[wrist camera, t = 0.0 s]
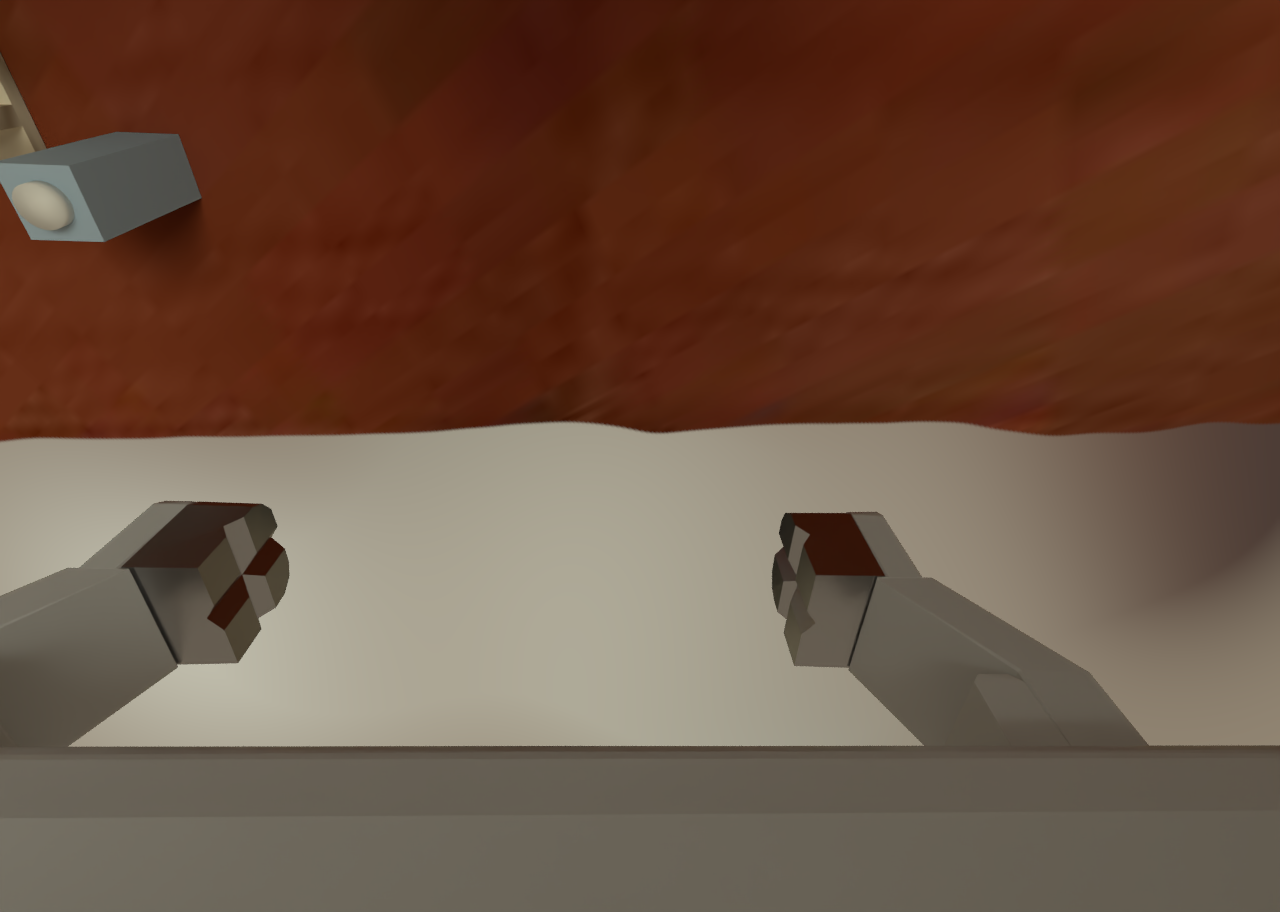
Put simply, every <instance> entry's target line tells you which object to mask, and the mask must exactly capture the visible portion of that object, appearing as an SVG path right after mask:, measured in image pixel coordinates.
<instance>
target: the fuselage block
mask: <svg viewBox="0 0 1280 912" xmlns="http://www.w3.org/2000/svg"><path fill="white" fill-rule="evenodd" d="M0 182H1V184H2V186H3V188H4V190H5V191H6V193H7V195H8V197H9V199H10V201H11V203H12V204H13V206H14V208H15V210H16V212H17V214H18V216H19V217H20V219H21V221H22V223H23V225H24V227H25V229H26V230H27V232H28V234H29V236H30V238H31V240H61V241H92V242H105V241H107V240H110V239H112V238H114V237H116V236H119V235H121V234H123V233H125V232H127V231H130V230H132V229H134V228H136V227H138V226H141V225H143V224H145V223H147V222H150V221H152V220H154V219H156V218H158V217H161V216H163V215H165V214H167V213H169V212H172V211H174V210H176V209H178V208H181V207H183V206H185V205H187V204H189V203H192V202H194V201H196V200H198V199H200V198H201V195H200V192H199V190H198V187H197V184H196V181H195V178H194V176H193V173H192V170H191V167H190V165H189V162H188V159H187V156H186V154H185V151H184V148H183V145H182V143H181V140H180V137H179V134H155V133H130V132H114V133H110V134H106V135H102V136H98V137H94V138H89V139H85V140H81V141H77V142H73V143H69V144H65V145H61V146H57V147H53V148H49V149H45V150H40V151H36V152H32V153H28V154H24V155H20V156H16V157H12V158H8V159H4V160H0Z"/></svg>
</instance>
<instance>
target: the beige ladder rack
mask: <svg viewBox="0 0 1280 912" xmlns="http://www.w3.org/2000/svg"><path fill="white" fill-rule="evenodd" d="M45 149H47V148H46V146H45V144H44V142H43V140H42V138H41V136H40V134H39V132H38V130H37V128H36V126H35V124H34V122H33V119H32V117H31V115H30V113H29V111H28V109H27V107H26V105H25V103H24V101H23V99H22V97H21V95H20V92H19V90H18V88H17V86H16V84H15V82H14V80H13V78H12V76H11V74H10V72H9V70H8V68H7V65H6V63H5V61H4V59H3V57H2V55H1V53H0V160H4V159H8V158H12V157H16V156H20V155H24V154H28V153H32V152H36V151H40V150H45Z"/></svg>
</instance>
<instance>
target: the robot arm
mask: <svg viewBox="0 0 1280 912" xmlns="http://www.w3.org/2000/svg"><path fill="white" fill-rule="evenodd" d="M276 528H277V524H276V521H275V518H274V516H273V513H272V510H271V509H270V508H268V507H267V506H265V505H263V504H249V503H222V502H221V503H220V502H192V501H164V502H159V503H155V504H153V505H152V506H150V507H149V508H148V509H147V510H146V511H145V512H144V513H142V514H141V515H140V516H139V517H138V518H136V519H135V521H133V522H132V523H131V524H130V525H128V526H127V527H126V528H125V529H124V530H122V531H121V532H120V533H119V534H118V535H117V536H116V537H114V538H113V539H112V540H111V541H110V542H109V543H107V544H106V545H105V546H104V547H103V548H102V549H100V550H99V551H98V552H97V553H96V554H95V555H93V556H92V557H91V558H90V559H89V560H88V561H86V562H85V563H84V564H83V565H82V566H81V567H79V568H66V569H64V570H61V571H59V572H57V573H54V574H52V575H49V576H47V577H45V578H42V579H40V580H38V581H35V582H33V583H30V584H28V585H26V586H23V587H21V588H18V589H16V590H14V591H11V592H9V593H6V594H4V595H2V596H0V912H1280V746H1149V745H1148V744H1147V743H1146V741H1145V740H1144V739H1143V738H1142V737H1141V735H1140V734H1139V733H1138V732H1137V730H1136V729H1135V728H1134V727H1133V725H1132V724H1131V723H1130V722H1129V721H1128V719H1127V718H1126V717H1125V716H1124V714H1123V713H1122V712H1121V711H1120V710H1119V708H1118V707H1117V706H1116V705H1115V703H1114V702H1113V701H1112V700H1111V698H1110V697H1109V696H1108V695H1107V693H1106V692H1105V691H1104V690H1103V689H1102V687H1101V686H1100V685H1099V684H1098V682H1097V681H1096V680H1095V679H1094V678H1093V676H1092V675H1091V674H1090V673H1089V672H1088V671H1086V670H1084V669H1083V668H1081V667H1079V666H1078V665H1076V664H1074V663H1073V662H1071V661H1069V660H1068V659H1066V658H1064V657H1063V656H1061V655H1059V654H1058V653H1056V652H1054V651H1053V650H1051V649H1049V648H1048V647H1046V646H1044V645H1043V644H1041V643H1040V642H1038V641H1036V640H1034V639H1033V638H1031V637H1029V636H1028V635H1026V634H1024V633H1023V632H1021V631H1020V630H1018V629H1016V628H1014V627H1013V626H1011V625H1010V624H1008V623H1006V622H1005V621H1003V620H1001V619H1000V618H998V617H996V616H994V615H993V614H991V613H990V612H988V611H986V610H984V609H983V608H981V607H979V606H978V605H976V604H975V603H973V602H971V601H970V600H968V599H966V598H965V597H963V596H961V595H960V594H958V593H956V592H955V591H953V590H951V589H950V588H948V587H946V586H945V585H943V584H941V583H940V582H938V581H937V580H935V579H933V578H922V576H921V575H920V573H919V571H918V570H917V569H916V567H915V565H914V564H913V562H912V561H911V559H910V557H909V556H908V554H907V553H906V552H905V550H904V548H903V547H902V545H901V543H900V542H899V540H898V539H897V537H896V536H895V534H894V533H893V531H892V529H891V528H890V526H889V525H888V523H887V522H886V520H885V518H884V517H883V515H881V514H879V513H878V512H847V513H785V514H784V517H783V519H782V521H781V526H780V531H779V535H780V538H781V540H782V543H783V546H784V547H783V548H782V549H781V550H780V551H779V552H778V553H776V554H775V557H774V563H773V570H772V590H773V596H774V601H775V605H776V608H777V612H778V613H780V614H781V615H782V616H784V617H785V618H786V619H787V620H786V625H785V630H784V634H785V638H786V641H787V644H788V647H789V651H790V654H791V657H792V660H793V663H794V666H815V667H847V668H849V671H850V672H851V673H852V674H853V675H854V676H855V677H856V678H857V679H858V680H859V681H860V682H861V683H862V684H863V685H864V686H865V687H866V688H867V689H868V690H869V691H870V692H871V693H872V694H873V695H874V696H875V697H876V698H877V699H878V700H879V701H880V702H881V703H882V704H883V705H884V706H885V707H886V708H887V709H888V710H889V711H890V712H891V713H892V714H893V715H894V716H895V717H896V718H897V719H898V720H899V721H900V722H901V723H902V724H903V725H904V726H905V727H906V728H907V729H908V730H909V731H910V732H911V733H912V734H913V735H914V736H915V737H916V738H917V739H919V741H920V742H921V743H922V744H923V745H924V746H384V747H383V746H353V747H352V746H350V747H348V746H346V747H345V746H343V747H340V746H338V747H337V746H335V747H331V746H330V747H68V746H69V745H71V744H72V743H73V742H75V741H76V740H77V739H79V738H80V737H81V736H83V735H84V734H86V733H87V732H89V731H90V730H91V729H93V728H94V727H96V726H97V725H98V724H100V723H101V722H102V721H104V720H105V719H107V718H108V717H109V716H111V715H112V714H114V713H115V712H116V711H118V710H119V709H120V708H122V707H123V706H125V705H126V704H128V703H129V702H130V701H131V700H133V699H134V698H136V697H137V696H139V695H140V694H141V693H143V692H144V691H146V690H147V689H148V688H149V687H151V686H152V685H154V684H155V683H157V682H158V681H159V680H161V679H162V678H164V677H165V676H166V675H168V674H169V673H170V672H172V671H173V670H175V669H176V668H177V667H178V666H177V664H219V663H238V662H239V661H240V659H241V658H242V657H243V655H244V653H245V652H246V651H247V649H248V648H249V646H250V645H251V643H252V642H253V640H254V639H255V637H256V636H257V634H258V633H259V632H260V630H261V626H260V623H259V620H258V618H259V617H261V616H262V615H264V614H266V613H267V612H269V611H271V610H272V609H274V608H276V606H277V605H278V603H279V602H280V600H281V598H282V597H283V595H284V593H285V590H286V587H287V583H288V579H289V561H288V557H287V554H286V551H285V549H284V548H283V547H282V546H281V545H280V544H279V543H277V542H276V541H275V540H274V539H273V538H271V537H272V535H273V533H274V531H275V530H276Z"/></svg>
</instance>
